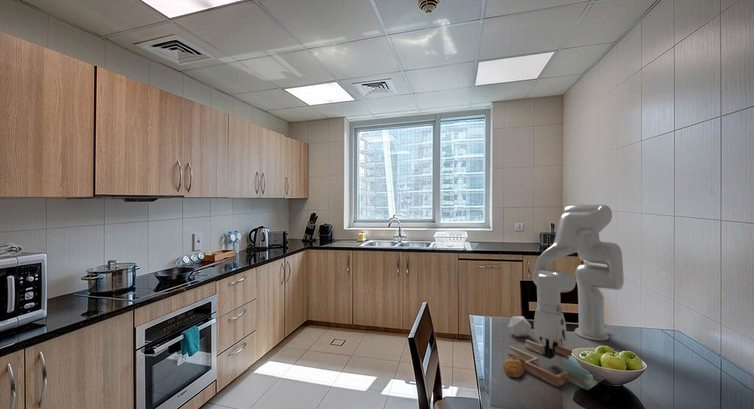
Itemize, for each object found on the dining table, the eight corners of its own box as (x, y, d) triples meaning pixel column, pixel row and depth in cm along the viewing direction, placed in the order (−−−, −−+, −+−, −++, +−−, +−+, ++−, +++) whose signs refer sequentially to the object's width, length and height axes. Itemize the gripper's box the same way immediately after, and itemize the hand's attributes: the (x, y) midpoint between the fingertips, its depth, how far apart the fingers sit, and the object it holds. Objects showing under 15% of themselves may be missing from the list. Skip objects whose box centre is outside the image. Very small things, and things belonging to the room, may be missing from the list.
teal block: (572, 371, 110) (572, 356, 110) (597, 381, 103) (597, 366, 104) (562, 375, 107) (562, 361, 107) (588, 387, 100) (588, 371, 100)
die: (529, 342, 135) (537, 321, 138) (509, 331, 137) (518, 310, 140) (520, 341, 143) (528, 321, 146) (502, 331, 144) (510, 311, 148)
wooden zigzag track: (535, 343, 132) (535, 334, 133) (615, 374, 107) (614, 362, 107) (498, 357, 120) (497, 347, 120) (577, 396, 95) (577, 383, 95)
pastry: (524, 381, 104) (524, 369, 104) (503, 377, 107) (502, 366, 107) (523, 368, 113) (523, 357, 113) (503, 364, 116) (503, 354, 116)
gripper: (575, 311, 111) (576, 363, 111) (535, 300, 124) (536, 347, 124) (563, 315, 107) (564, 369, 107) (524, 304, 120) (524, 351, 120)
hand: (549, 357), depth 115 cm, fingers closed
